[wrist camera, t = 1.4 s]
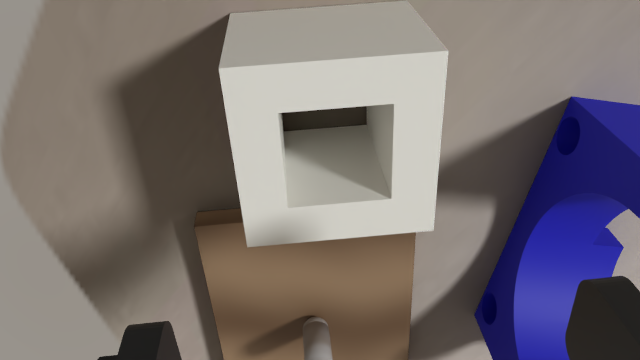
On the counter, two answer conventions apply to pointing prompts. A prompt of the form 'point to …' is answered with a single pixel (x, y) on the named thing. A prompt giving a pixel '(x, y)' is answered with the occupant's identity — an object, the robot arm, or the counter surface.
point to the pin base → (307, 294)
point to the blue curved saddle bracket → (563, 230)
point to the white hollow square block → (338, 142)
